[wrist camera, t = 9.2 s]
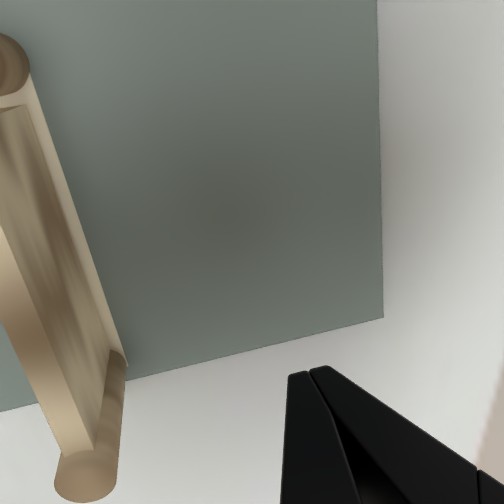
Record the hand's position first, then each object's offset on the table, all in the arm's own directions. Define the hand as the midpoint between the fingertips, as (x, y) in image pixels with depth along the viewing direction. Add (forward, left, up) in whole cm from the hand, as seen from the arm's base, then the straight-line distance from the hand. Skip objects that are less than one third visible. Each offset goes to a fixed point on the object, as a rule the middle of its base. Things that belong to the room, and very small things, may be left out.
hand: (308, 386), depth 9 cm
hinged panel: (+1, -7, -11) cm, 13 cm away
